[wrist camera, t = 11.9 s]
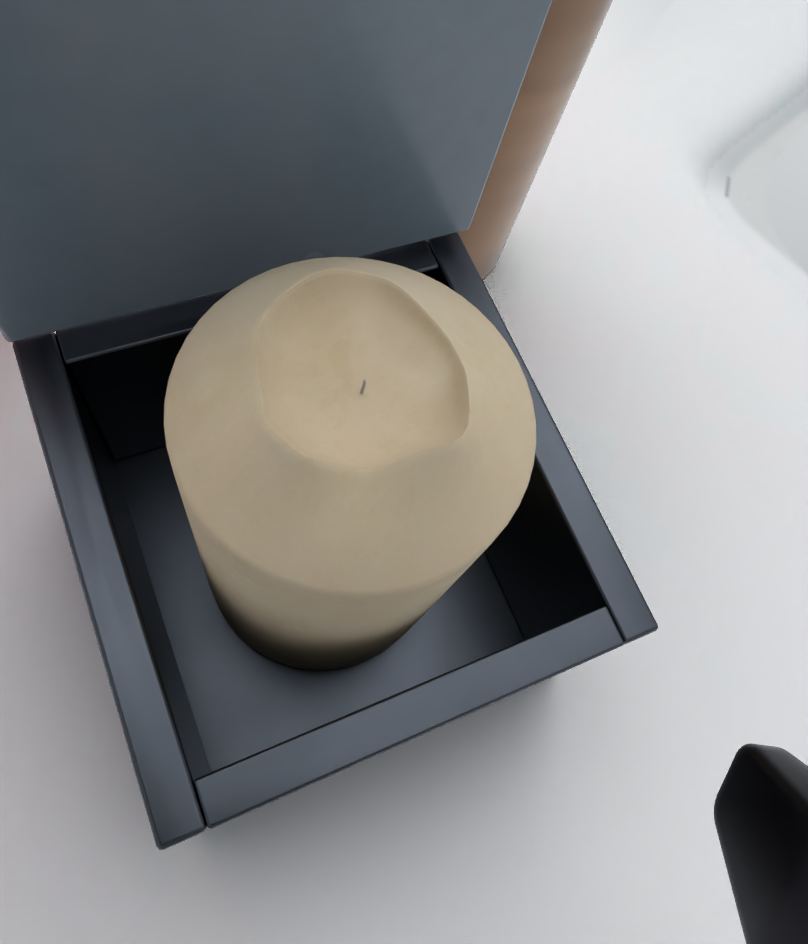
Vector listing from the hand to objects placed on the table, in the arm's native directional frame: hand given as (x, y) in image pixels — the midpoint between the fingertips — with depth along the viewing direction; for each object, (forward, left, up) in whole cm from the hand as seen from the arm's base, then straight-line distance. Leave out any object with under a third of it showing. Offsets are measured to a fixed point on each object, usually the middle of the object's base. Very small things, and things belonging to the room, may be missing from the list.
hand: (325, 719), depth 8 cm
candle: (+4, -2, -11) cm, 11 cm away
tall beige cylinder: (+13, -9, -11) cm, 19 cm away
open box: (+4, -2, -11) cm, 12 cm away
